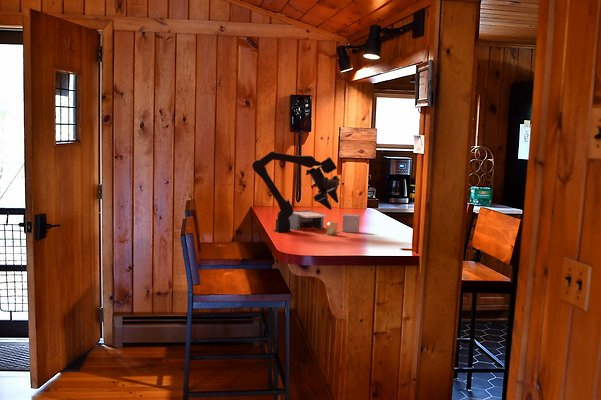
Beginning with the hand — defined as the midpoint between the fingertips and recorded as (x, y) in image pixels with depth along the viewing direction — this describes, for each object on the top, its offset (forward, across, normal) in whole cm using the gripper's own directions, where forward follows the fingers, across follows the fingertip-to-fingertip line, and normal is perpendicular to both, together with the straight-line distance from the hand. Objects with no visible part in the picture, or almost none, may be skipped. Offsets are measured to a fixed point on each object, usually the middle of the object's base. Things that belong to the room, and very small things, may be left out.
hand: (334, 206), depth 329 cm
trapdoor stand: (+4, +3, +25) cm, 25 cm away
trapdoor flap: (+3, +1, +19) cm, 20 cm away
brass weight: (+11, -10, +4) cm, 15 cm away
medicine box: (+17, +5, +2) cm, 18 cm away
